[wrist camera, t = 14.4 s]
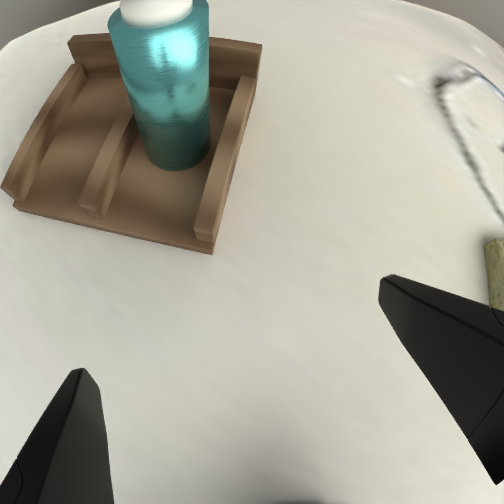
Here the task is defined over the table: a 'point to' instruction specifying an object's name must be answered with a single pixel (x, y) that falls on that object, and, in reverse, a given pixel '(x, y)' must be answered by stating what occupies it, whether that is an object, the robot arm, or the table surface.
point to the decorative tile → (495, 272)
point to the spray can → (166, 76)
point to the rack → (130, 151)
